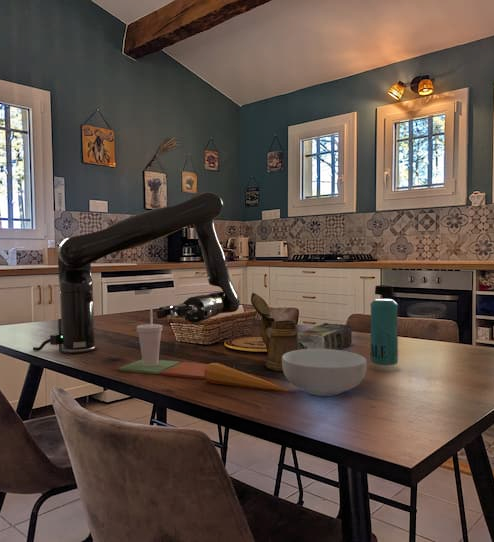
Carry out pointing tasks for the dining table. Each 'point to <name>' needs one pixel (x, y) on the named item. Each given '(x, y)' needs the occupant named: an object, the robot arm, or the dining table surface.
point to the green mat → (149, 367)
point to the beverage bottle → (384, 328)
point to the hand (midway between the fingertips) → (172, 315)
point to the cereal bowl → (324, 370)
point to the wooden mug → (275, 334)
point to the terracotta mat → (187, 370)
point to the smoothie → (150, 342)
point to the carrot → (236, 378)
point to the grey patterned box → (326, 337)
